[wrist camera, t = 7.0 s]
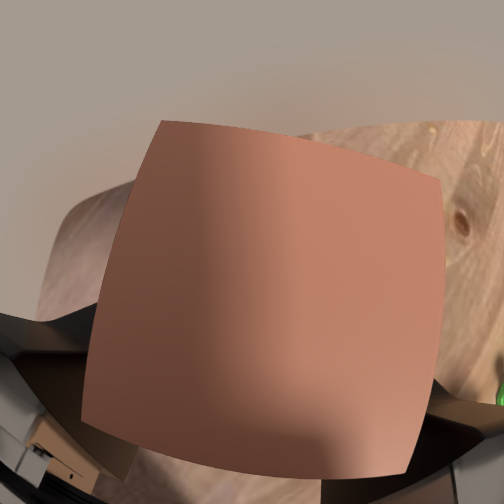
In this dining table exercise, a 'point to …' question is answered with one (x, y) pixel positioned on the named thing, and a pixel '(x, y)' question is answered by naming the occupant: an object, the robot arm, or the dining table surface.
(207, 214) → the pillar brick
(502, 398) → the game piece
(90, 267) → the dining table surface
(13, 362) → the robot arm
